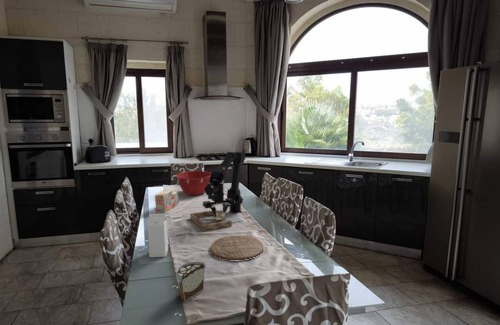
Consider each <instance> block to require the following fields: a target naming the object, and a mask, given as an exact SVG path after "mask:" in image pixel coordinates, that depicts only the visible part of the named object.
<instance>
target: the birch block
mask: <svg viewBox="0 0 500 325" xmlns="http://www.w3.org/2000/svg"><path fill="white" fill-rule="evenodd" d="M225 215H226V213H225V212H223V209H220V210H217V211H216V217H214V216H213V219H215V220H216V221H220V220H224V219H225Z"/></svg>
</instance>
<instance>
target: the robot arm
mask: <svg viewBox="0 0 500 325" xmlns="http://www.w3.org/2000/svg"><path fill="white" fill-rule="evenodd" d="M245 159H246V154H245V153H244V152H243V151H227V154H226V155H225V157H224V159H223V160H222V161H221V163H220V165H219V166H218V167H215V169H214V170H213V171H212V172H211V173H212V174H211V177H210V179H209V183H207V186H206V187H205V189H204V190H205V192H204V193H205V194H206V195H207V200H205V201H203V202H202V207H204V209H211V210H212V212H213V214H214V215H213V218H214V217H216V210H217V207H216V206H218V205H222V211H223V212H225V214H226V212H227V211H228V209H229V212H230V213H231V214H238V213H242V212H243V211H242V210H241V209H242V208H241V206H242V205H241V204H243V202H244V199H243V197H242V195H241V194H242V193H241V189H240V178H241V172H242V171H241V168H242V165H244V163H245ZM231 165H233V166H232V176H231V183H230V184H231V185H230V187H229V189H227V193H226V198H225V199H224V196H225V193H224V192H225V191H224V184H225V183H226V181H225V178H226V176H227V170H228V169H229V168H230V166H231ZM211 210H210V211H211Z"/></svg>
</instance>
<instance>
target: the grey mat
mask: <svg viewBox="0 0 500 325" xmlns="http://www.w3.org/2000/svg"><path fill="white" fill-rule="evenodd" d="M223 220H224V221H229V220H231V221H232V224H234V223H240V222H244V220H243V219H241V218H240V217H239V216H237V215H236V214H235V213H227V214H226V213H225V219H223Z"/></svg>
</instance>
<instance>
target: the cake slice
mask: <svg viewBox="0 0 500 325" xmlns="http://www.w3.org/2000/svg"><path fill="white" fill-rule="evenodd" d="M205 269H206V263H205V262H203V261H190V262H187V263H184V264H182V265H180V266H178V268H177V269H176V274H175V279H176V281H177V282H178V287H179V296H180V300H181V301H182V302H184V303H186V302H187V301H189V300H190V299H192V298H193V297H195V296H196V295H198V294H199V293H201V292H202V291H203V289H204V288H205V286H204V285H205ZM200 291H201V292H200ZM197 293H198V294H197Z"/></svg>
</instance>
